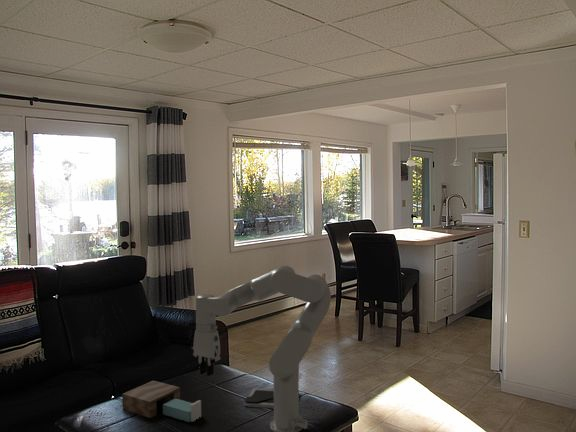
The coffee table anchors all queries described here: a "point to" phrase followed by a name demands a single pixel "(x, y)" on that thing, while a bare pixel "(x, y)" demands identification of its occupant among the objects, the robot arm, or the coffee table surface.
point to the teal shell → (182, 410)
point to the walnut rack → (149, 397)
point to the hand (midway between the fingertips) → (206, 373)
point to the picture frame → (260, 398)
